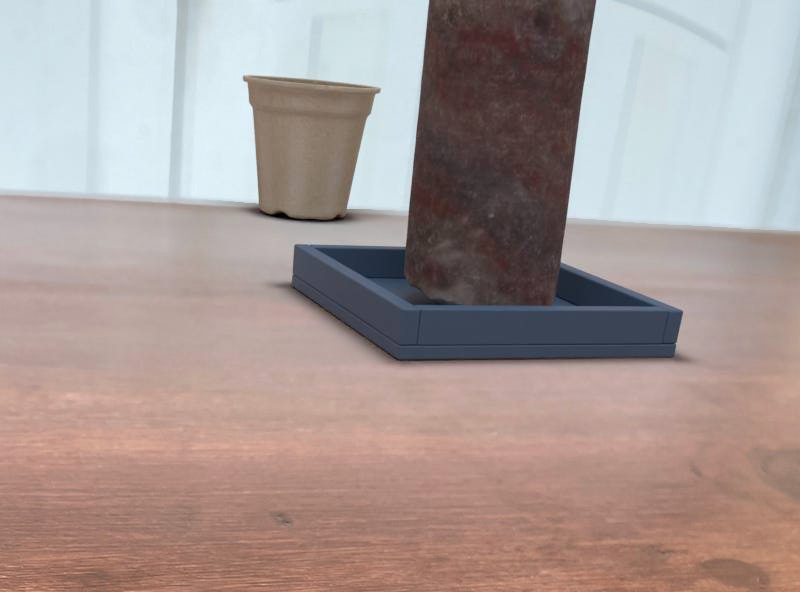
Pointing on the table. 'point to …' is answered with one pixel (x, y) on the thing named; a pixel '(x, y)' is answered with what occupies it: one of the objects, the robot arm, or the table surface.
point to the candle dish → (481, 312)
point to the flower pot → (307, 143)
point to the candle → (495, 149)
